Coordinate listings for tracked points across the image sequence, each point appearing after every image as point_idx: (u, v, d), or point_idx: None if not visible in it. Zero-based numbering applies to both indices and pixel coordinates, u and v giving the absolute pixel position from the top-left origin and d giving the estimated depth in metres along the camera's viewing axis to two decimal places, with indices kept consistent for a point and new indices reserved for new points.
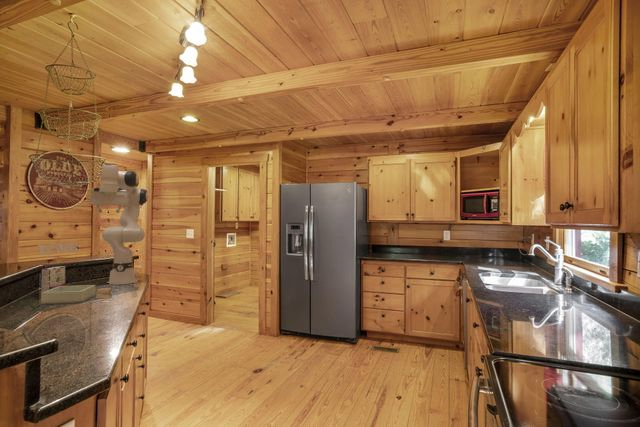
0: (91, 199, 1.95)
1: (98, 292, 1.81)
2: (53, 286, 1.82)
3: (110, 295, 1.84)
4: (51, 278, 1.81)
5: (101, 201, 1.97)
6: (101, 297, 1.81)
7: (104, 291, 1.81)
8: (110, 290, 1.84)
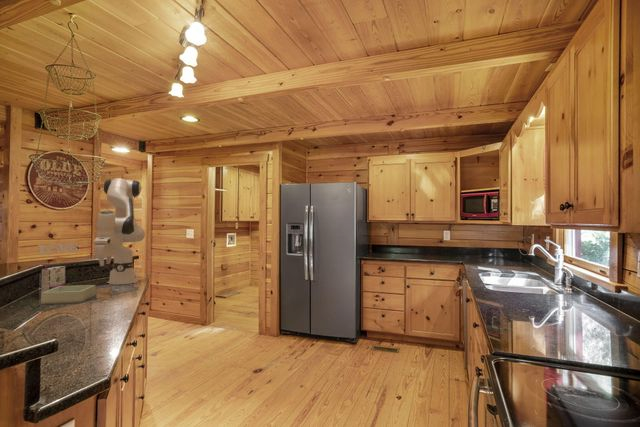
0: (103, 252, 1.76)
1: (98, 292, 1.81)
2: (53, 286, 1.82)
3: (110, 295, 1.84)
4: (51, 278, 1.81)
5: (106, 253, 1.81)
6: (101, 297, 1.81)
7: (104, 291, 1.81)
8: (110, 290, 1.84)
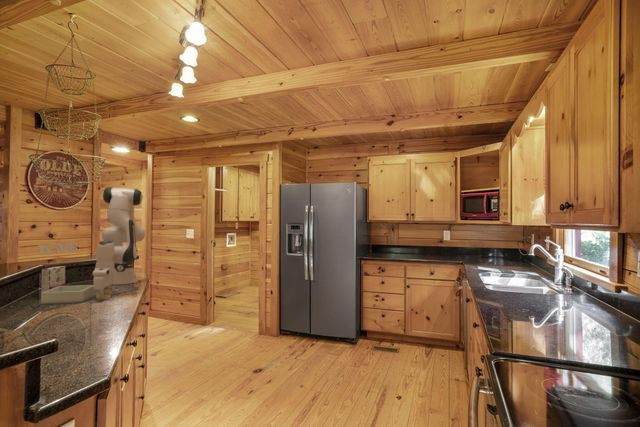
0: (102, 284, 1.76)
1: (98, 292, 1.81)
2: (53, 286, 1.82)
3: (110, 295, 1.84)
4: (51, 278, 1.81)
5: (106, 284, 1.81)
6: (101, 297, 1.81)
7: (104, 291, 1.81)
8: (110, 290, 1.84)
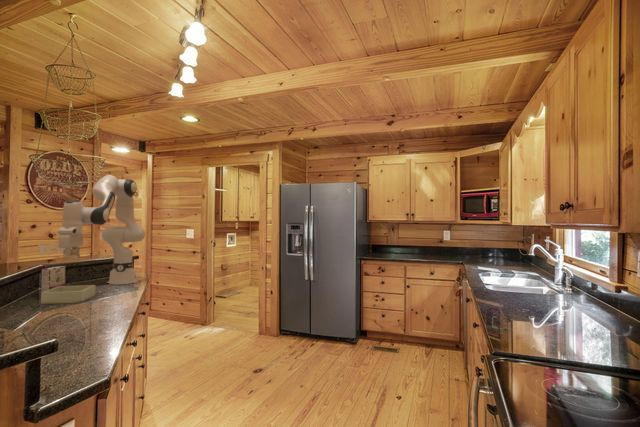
0: (68, 242, 1.71)
1: (65, 252, 1.76)
2: (53, 286, 1.82)
3: (78, 255, 1.80)
4: (51, 278, 1.81)
5: (72, 244, 1.76)
6: (68, 257, 1.77)
7: (71, 251, 1.77)
8: (78, 250, 1.80)
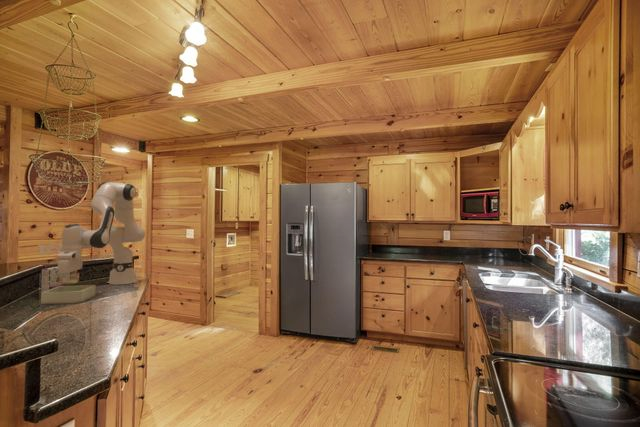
0: (67, 267, 1.71)
1: (64, 276, 1.76)
2: (53, 286, 1.82)
3: (77, 280, 1.79)
4: (51, 278, 1.81)
5: (72, 268, 1.76)
6: (67, 281, 1.76)
7: (70, 275, 1.76)
8: (77, 274, 1.79)
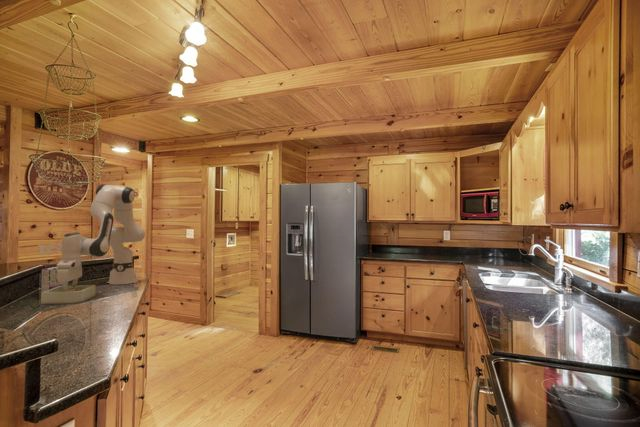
0: (67, 276, 1.71)
1: (63, 291, 1.76)
2: (53, 286, 1.82)
3: None
4: (51, 278, 1.81)
5: (71, 277, 1.76)
6: None
7: (70, 290, 1.76)
8: (76, 289, 1.79)
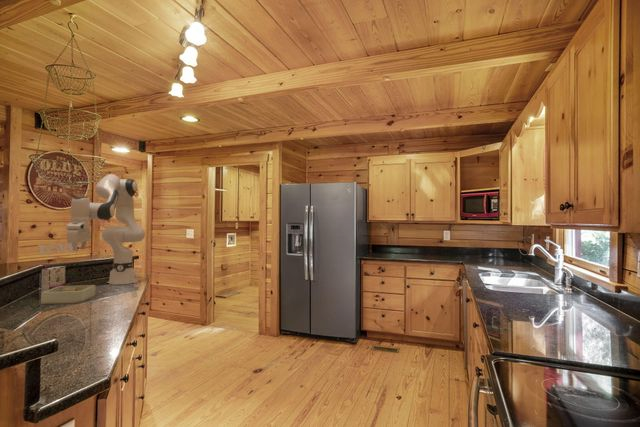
0: (76, 237, 1.75)
1: (63, 291, 1.76)
2: (53, 286, 1.82)
3: None
4: (51, 278, 1.80)
5: (80, 239, 1.80)
6: None
7: (70, 290, 1.76)
8: (76, 289, 1.79)
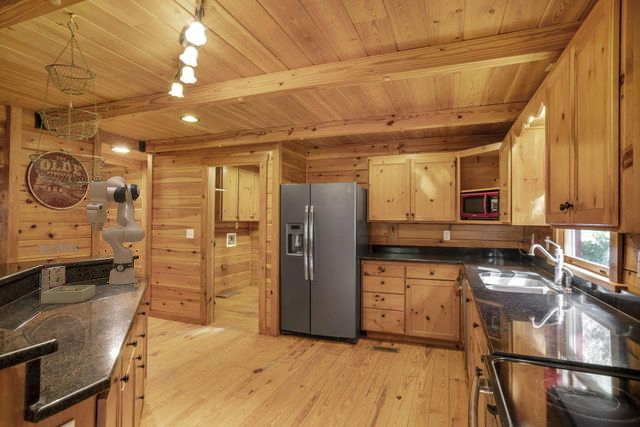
0: (95, 217, 1.85)
1: (63, 291, 1.76)
2: (53, 286, 1.82)
3: None
4: (51, 278, 1.81)
5: (99, 219, 1.90)
6: None
7: (70, 290, 1.76)
8: (76, 289, 1.79)
